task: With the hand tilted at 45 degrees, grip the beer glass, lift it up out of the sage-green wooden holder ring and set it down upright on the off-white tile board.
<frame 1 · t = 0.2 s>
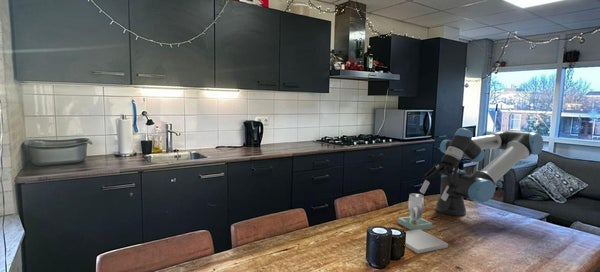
hand: (431, 196, 151), 15 cm above the table, tool tilted 35°, fingers open, 13 cm apart
tile board: (418, 242, 134), on the table
beer glass: (414, 226, 153), resting in holder ring
holder ring: (414, 225, 153), on the table
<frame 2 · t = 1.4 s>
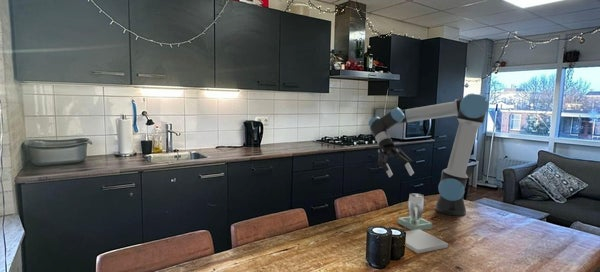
hand: (401, 175, 160), 22 cm above the table, tool tilted 45°, fingers open, 13 cm apart
nothing on the table moved.
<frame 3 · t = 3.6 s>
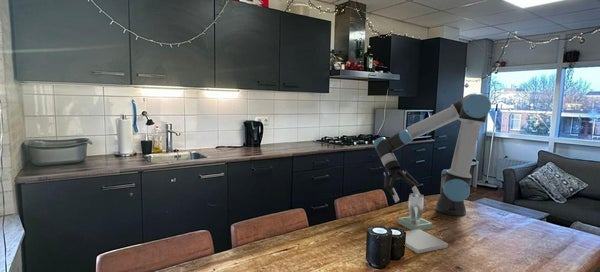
hand: (408, 199, 155), 12 cm above the table, tool tilted 45°, fingers open, 13 cm apart
nothing on the table moved.
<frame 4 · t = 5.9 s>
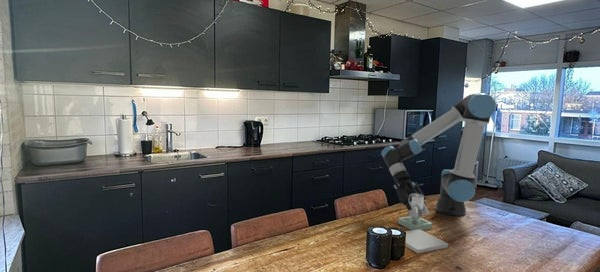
hand: (421, 215, 149), 6 cm above the table, tool tilted 45°, fingers closed on beer glass, 7 cm apart
beer glass: (414, 225, 153), resting in holder ring, touching gripper
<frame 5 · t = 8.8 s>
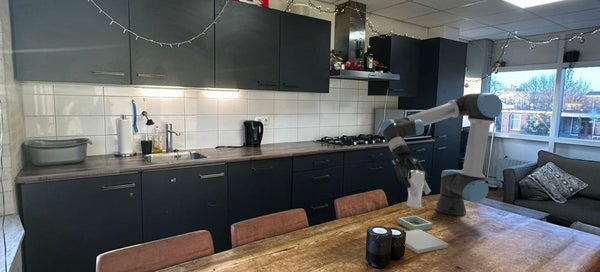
hand: (421, 193, 133), 21 cm above the table, tool tilted 45°, fingers closed on beer glass, 7 cm apart
beer glass: (413, 205, 137), point 14 cm above the table, touching gripper
when the fingers open (9 cm above the table, at t = 12.2 s): beer glass stays where it is, resting on tile board.
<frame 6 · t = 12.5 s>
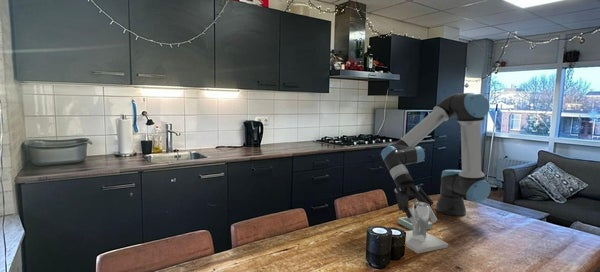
hand: (425, 223, 130), 9 cm above the table, tool tilted 45°, fingers open, 10 cm apart
beer glass: (418, 238, 134), point 1 cm above the table, touching tile board
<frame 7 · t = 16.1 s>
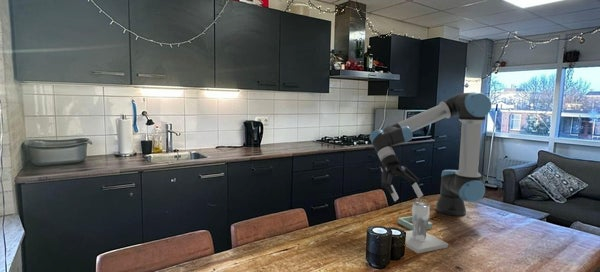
hand: (409, 198, 139), 17 cm above the table, tool tilted 45°, fingers open, 13 cm apart
nothing on the table moved.
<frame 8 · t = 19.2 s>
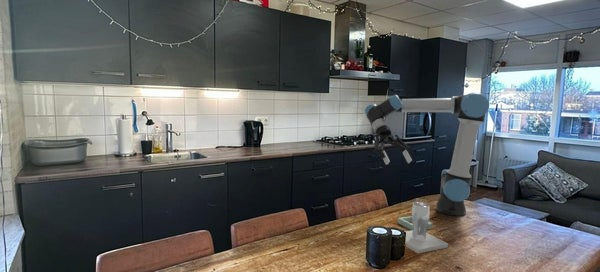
hand: (399, 162, 155), 30 cm above the table, tool tilted 45°, fingers open, 13 cm apart
nothing on the table moved.
at the end: beer glass inside the target area on the tile board (0.4 cm from its centre), point 1.3 cm above the tile board's base; beer glass tilted 0°; the gripper is holding nothing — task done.
